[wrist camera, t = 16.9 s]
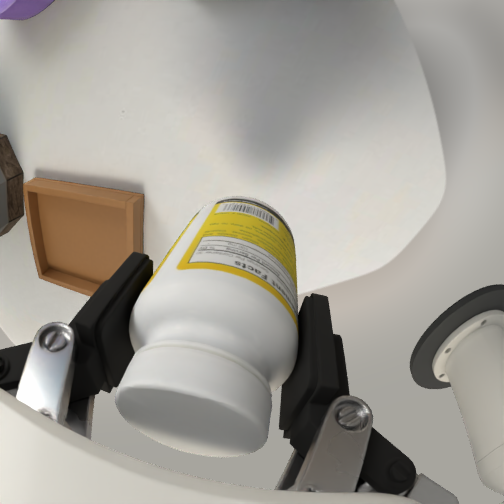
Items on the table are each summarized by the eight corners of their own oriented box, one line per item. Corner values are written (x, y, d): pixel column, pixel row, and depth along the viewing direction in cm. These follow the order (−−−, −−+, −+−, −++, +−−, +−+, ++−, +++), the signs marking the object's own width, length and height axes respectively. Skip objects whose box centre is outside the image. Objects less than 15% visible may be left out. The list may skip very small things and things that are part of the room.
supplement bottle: (221, 301, 16) (170, 463, 8) (170, 220, 14) (52, 369, 6) (312, 270, 15) (322, 458, 6) (267, 174, 13) (222, 337, 4)
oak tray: (144, 194, 23) (133, 203, 21) (144, 298, 29) (136, 311, 27) (35, 177, 23) (22, 184, 21) (48, 268, 28) (38, 278, 27)
